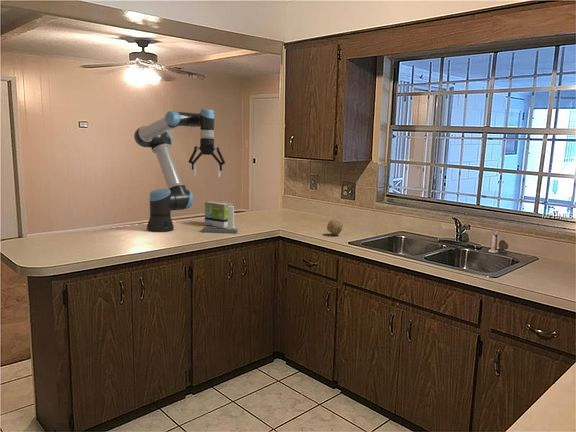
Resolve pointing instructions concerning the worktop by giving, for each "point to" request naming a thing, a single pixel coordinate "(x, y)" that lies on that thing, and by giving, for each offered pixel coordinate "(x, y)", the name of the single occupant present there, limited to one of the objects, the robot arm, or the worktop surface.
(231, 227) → the fader tab
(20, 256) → the worktop surface
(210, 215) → the tea box
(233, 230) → the fader console
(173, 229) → the robot arm
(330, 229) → the natural sponge
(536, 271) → the worktop surface
